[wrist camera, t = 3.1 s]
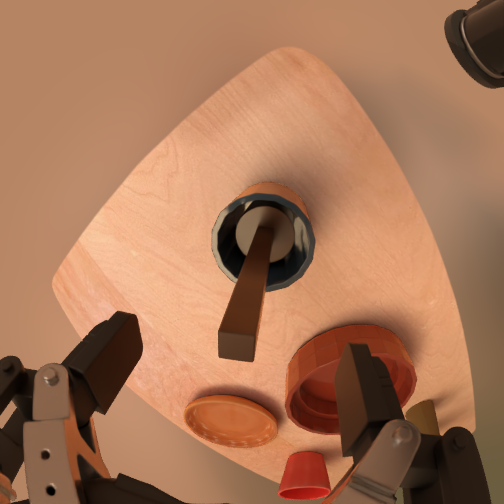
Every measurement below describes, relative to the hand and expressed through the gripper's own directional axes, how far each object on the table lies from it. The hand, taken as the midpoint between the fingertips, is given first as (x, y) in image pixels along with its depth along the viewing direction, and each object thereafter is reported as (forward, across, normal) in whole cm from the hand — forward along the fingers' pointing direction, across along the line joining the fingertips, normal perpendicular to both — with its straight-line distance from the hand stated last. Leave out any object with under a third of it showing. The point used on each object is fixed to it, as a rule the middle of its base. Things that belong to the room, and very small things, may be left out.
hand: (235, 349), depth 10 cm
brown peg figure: (+20, -32, +32) cm, 49 cm away
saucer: (+20, +3, +34) cm, 40 cm away
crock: (+20, 0, 0) cm, 20 cm away
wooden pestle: (+19, 0, 0) cm, 19 cm away
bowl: (+20, -13, +20) cm, 31 cm away
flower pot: (+20, -13, +50) cm, 55 cm away
